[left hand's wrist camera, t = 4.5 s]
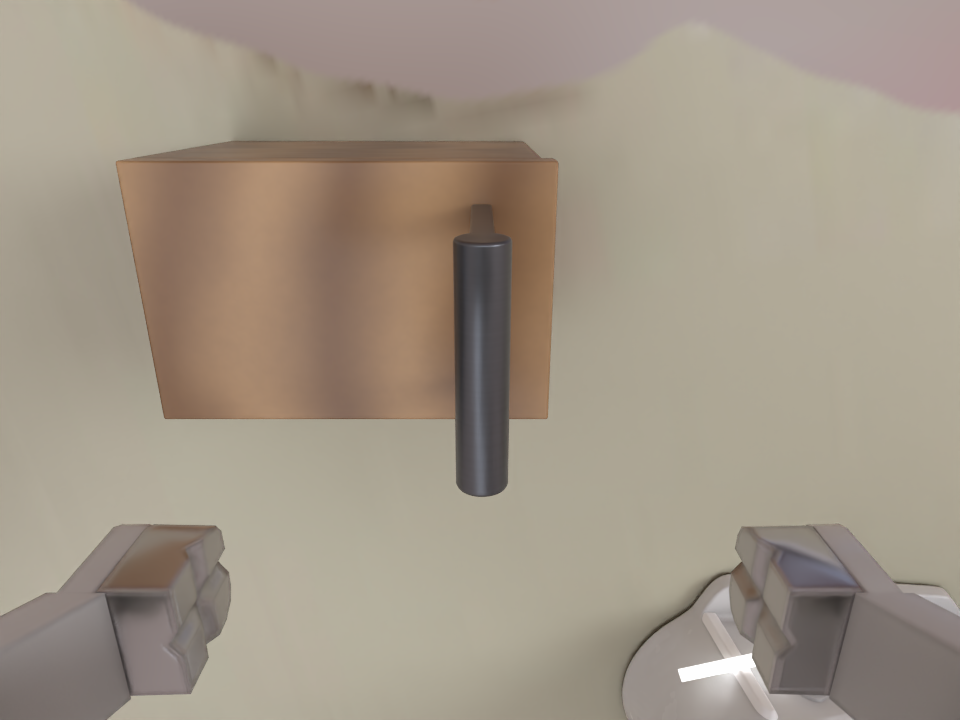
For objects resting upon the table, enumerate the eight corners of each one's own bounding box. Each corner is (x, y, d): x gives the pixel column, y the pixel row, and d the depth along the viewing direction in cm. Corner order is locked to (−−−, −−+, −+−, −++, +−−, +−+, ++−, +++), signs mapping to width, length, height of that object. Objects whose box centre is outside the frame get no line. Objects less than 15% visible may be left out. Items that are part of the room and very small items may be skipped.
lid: (554, 158, 24) (594, 189, 15) (544, 405, 27) (572, 536, 19) (132, 158, 24) (-48, 188, 15) (177, 405, 27) (49, 536, 19)
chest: (524, 141, 33) (542, 158, 24) (520, 327, 36) (534, 405, 27) (230, 141, 33) (133, 157, 24) (254, 327, 36) (177, 405, 27)
